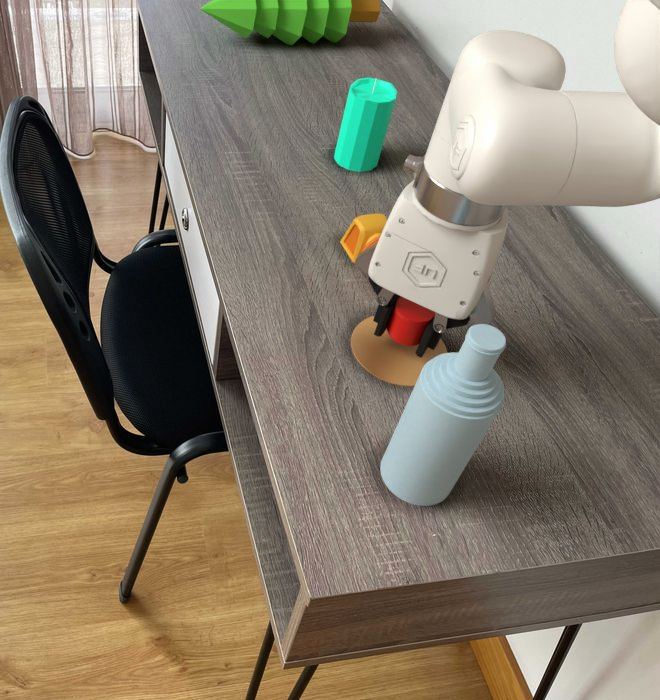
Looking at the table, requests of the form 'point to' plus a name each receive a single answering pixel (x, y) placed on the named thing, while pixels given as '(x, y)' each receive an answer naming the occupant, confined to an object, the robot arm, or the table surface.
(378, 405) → the table surface
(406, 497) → the bottle
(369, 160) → the candle
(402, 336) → the cap
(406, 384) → the coaster
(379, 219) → the yellow plastic toy
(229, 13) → the decorative tree
